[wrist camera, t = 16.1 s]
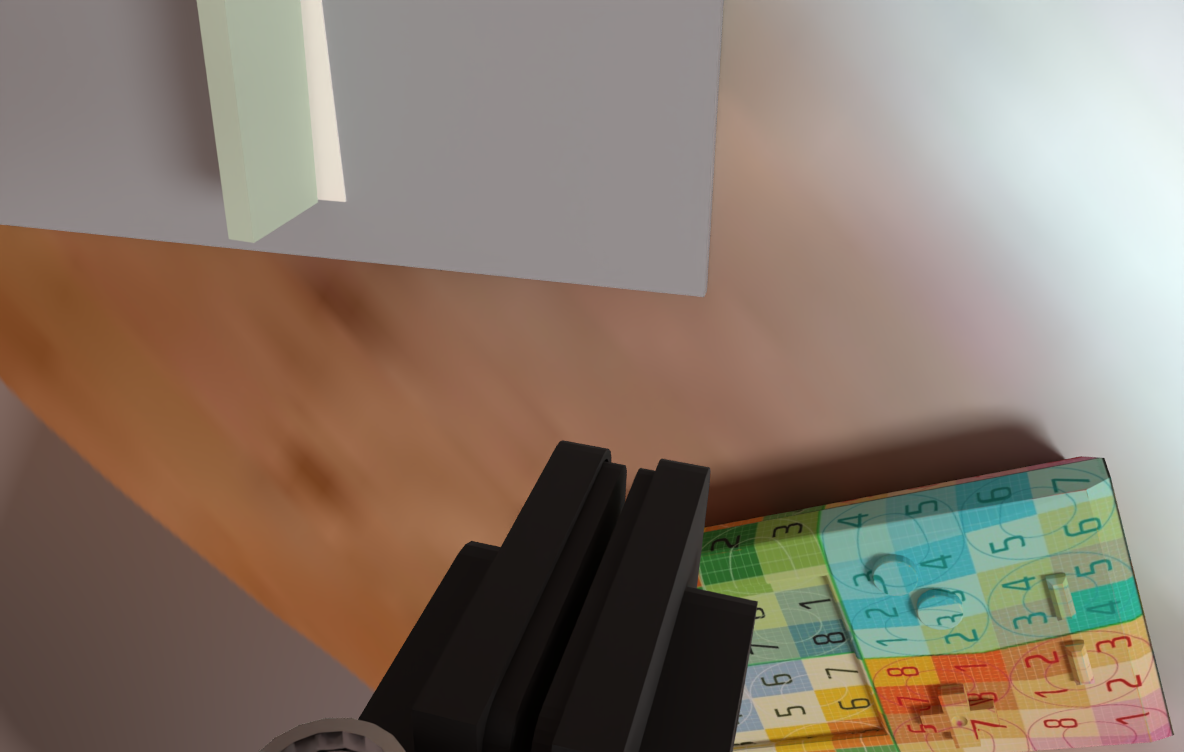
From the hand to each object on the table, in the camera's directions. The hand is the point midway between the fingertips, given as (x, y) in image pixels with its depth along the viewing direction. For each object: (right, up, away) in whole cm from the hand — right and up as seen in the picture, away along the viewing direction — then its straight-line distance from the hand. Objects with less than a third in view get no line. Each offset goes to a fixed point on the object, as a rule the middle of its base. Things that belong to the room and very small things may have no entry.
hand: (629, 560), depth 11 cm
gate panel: (-11, +15, +25) cm, 31 cm away
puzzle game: (+11, -7, +32) cm, 34 cm away
